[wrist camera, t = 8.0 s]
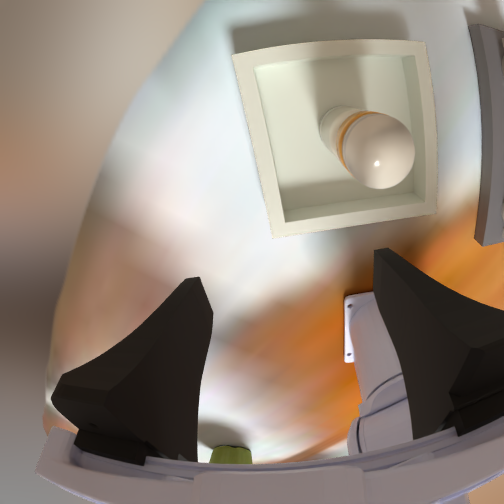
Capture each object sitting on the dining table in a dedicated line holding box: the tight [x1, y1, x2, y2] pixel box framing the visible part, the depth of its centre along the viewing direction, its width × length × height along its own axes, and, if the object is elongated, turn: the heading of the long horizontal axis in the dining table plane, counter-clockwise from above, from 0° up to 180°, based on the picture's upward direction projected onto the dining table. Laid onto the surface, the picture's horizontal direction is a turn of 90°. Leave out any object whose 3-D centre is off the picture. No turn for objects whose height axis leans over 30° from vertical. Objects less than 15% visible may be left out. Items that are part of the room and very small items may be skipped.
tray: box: [231, 39, 438, 239], centre depth 17 cm, size 12×12×3 cm
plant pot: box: [209, 446, 252, 464], centre depth 42 cm, size 12×12×11 cm
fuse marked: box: [319, 105, 415, 189], centre depth 14 cm, size 4×4×7 cm
